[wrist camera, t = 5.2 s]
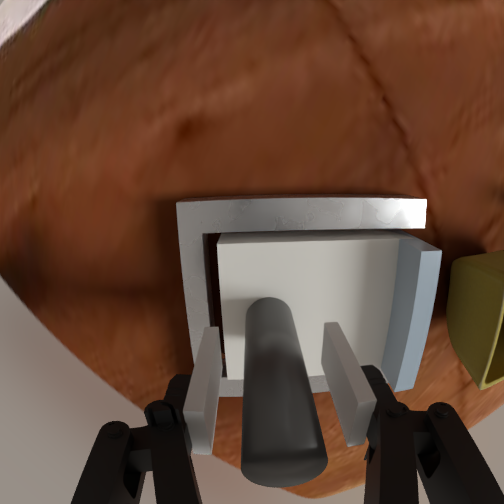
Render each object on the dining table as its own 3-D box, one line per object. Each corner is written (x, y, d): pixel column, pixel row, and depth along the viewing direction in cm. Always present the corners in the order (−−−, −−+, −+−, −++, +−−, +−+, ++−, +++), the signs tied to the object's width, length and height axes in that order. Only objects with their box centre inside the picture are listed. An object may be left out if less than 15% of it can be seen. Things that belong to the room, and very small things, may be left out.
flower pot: (504, 231, 22) (572, 258, 13) (492, 315, 24) (546, 358, 16) (435, 239, 22) (507, 277, 14) (426, 334, 25) (477, 393, 16)
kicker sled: (229, 356, 24) (214, 520, 10) (221, 233, 22) (171, 356, 8) (384, 345, 24) (465, 476, 10) (399, 229, 22) (545, 311, 7)
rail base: (203, 377, 25) (199, 396, 23) (184, 198, 21) (176, 202, 19) (388, 365, 25) (398, 381, 23) (410, 195, 21) (426, 199, 19)
